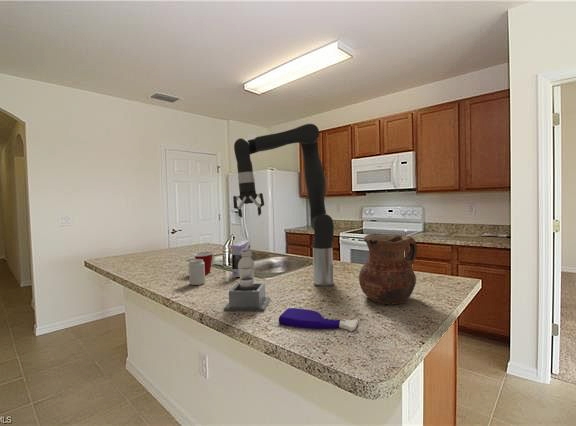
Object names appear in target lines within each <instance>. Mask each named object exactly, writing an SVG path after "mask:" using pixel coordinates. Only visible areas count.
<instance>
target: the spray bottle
mask: <svg viewBox="0 0 576 426" xmlns="http://www.w3.org/2000/svg"><path fill="white" fill-rule="evenodd" d="M278 323H279V325H283V326H287V327H292V328H293V327H294V328H299V329H308V330H321V329H322V330H323V329H324V330H330V329H344V330H347V331H349V332H353V331H355V330H356V328H357V326H358V323H359V319H357V318H356V319H351V320H348V319H345V318H342V319H341V320H340V319H332V318H331V319H330V318H324V316H323V315H322V314H321V313H320V312H318V311H317V310H316V311H315V310H313V309H312V310H311V309H304V308H297V307H295V308H294V307H288V308H286V310H285V311H283V312H282V313H281V314H280V315H279V317H278Z"/></svg>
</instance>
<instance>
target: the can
mask: <svg viewBox="0 0 576 426" xmlns="http://www.w3.org/2000/svg"><path fill="white" fill-rule="evenodd" d="M188 274H189V279H188V280H189V285H191V286H193V285H198V286H202V285H204V284H205V283H206V275H205V263H204V262H203V260H202V259H196V258H194V259H190V260H189V263H188ZM201 284H202V285H201Z"/></svg>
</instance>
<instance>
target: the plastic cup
mask: <svg viewBox="0 0 576 426" xmlns="http://www.w3.org/2000/svg"><path fill="white" fill-rule="evenodd" d="M213 254H214V251H212V250H205V251H199V252H195V253H194V254H193V256H194V259H202V260H203V262H204V263H205V274H206V275H209V274H211V268H212V259H213ZM208 273H209V274H208Z"/></svg>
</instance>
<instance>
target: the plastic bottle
mask: <svg viewBox="0 0 576 426" xmlns="http://www.w3.org/2000/svg"><path fill="white" fill-rule="evenodd" d="M241 256H242V258H241V260H240V261H239V263H238V269H239V275H240V278H239V283H240V291H255V288H254V283H255V279H254V278H255V266H256V265H255V261H254V260H253V258H252V257H251V256H252V251H251V249H250V250H244V251H241Z"/></svg>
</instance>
